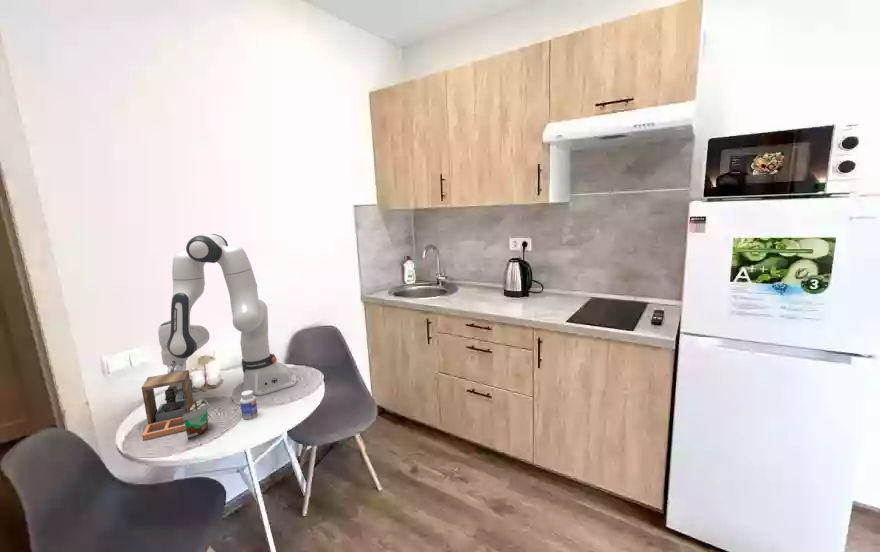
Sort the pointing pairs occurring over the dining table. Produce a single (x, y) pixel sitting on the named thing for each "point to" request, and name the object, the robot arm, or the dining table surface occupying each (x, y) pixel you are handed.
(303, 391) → the dining table surface
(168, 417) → the grey piece
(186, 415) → the food container
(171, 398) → the dark grey upright piece
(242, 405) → the pill bottle
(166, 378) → the tunnel
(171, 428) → the orange flat frame
